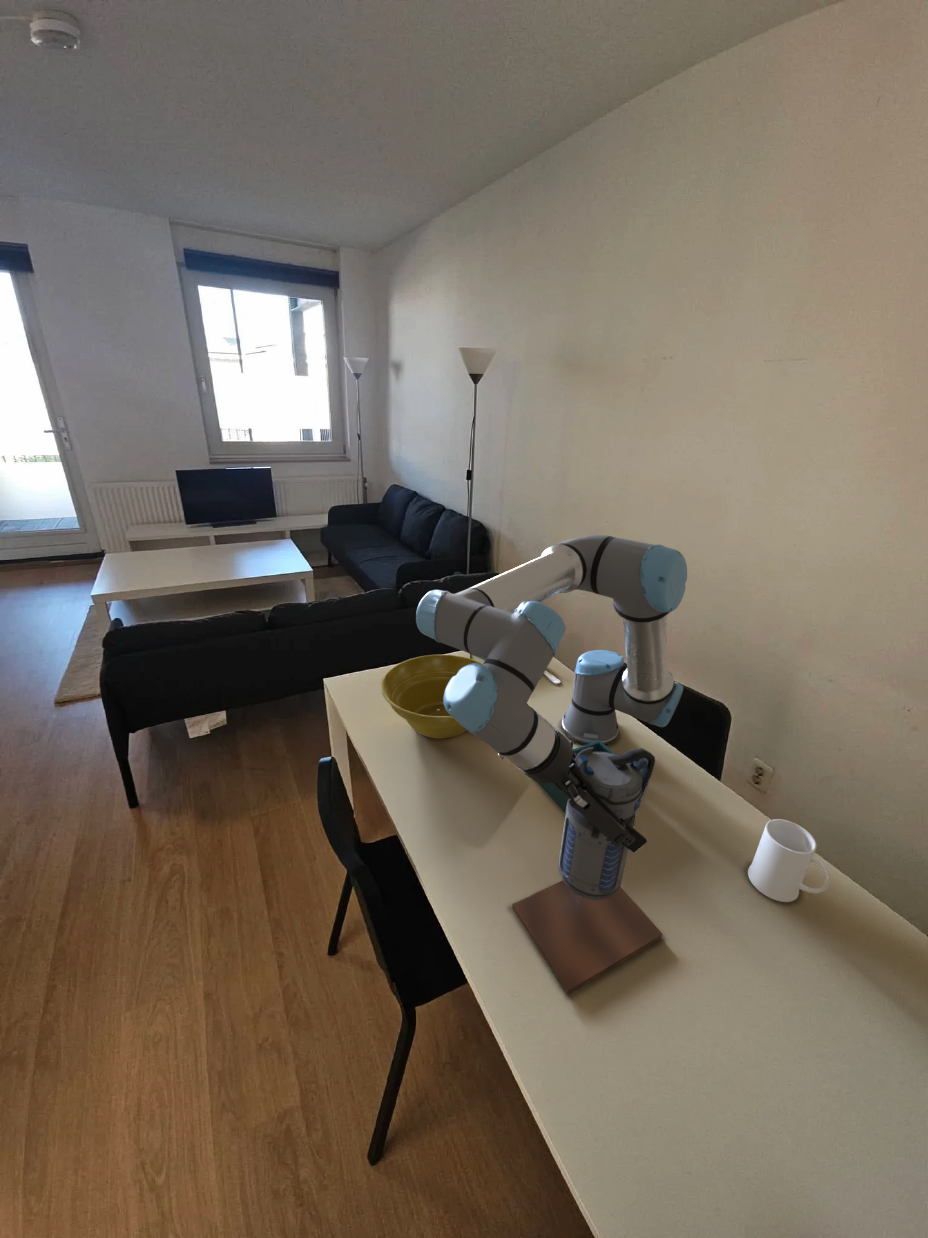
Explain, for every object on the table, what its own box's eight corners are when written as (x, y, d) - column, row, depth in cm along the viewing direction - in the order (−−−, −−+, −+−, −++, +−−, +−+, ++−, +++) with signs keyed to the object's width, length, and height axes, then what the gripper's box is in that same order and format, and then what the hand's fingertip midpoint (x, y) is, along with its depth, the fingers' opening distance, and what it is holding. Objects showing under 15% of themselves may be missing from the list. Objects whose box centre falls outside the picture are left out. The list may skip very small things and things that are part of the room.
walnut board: (598, 867, 99) (599, 862, 98) (662, 939, 86) (663, 934, 85) (511, 908, 90) (512, 904, 90) (567, 995, 77) (568, 990, 77)
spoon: (551, 685, 161) (551, 684, 161) (522, 660, 176) (522, 659, 175) (565, 682, 163) (565, 680, 163) (535, 658, 178) (535, 656, 178)
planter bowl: (458, 779, 120) (459, 732, 115) (357, 733, 136) (354, 690, 130) (518, 715, 145) (521, 674, 140) (427, 682, 161) (427, 644, 155)
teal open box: (596, 759, 128) (600, 730, 125) (639, 797, 116) (645, 767, 113) (535, 781, 120) (538, 751, 117) (575, 824, 108) (579, 792, 105)
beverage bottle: (646, 892, 80) (677, 766, 71) (571, 913, 77) (593, 783, 67) (611, 843, 89) (635, 725, 80) (543, 859, 86) (559, 738, 76)
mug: (826, 904, 93) (848, 856, 88) (800, 925, 89) (821, 877, 84) (764, 857, 102) (781, 811, 97) (738, 874, 98) (754, 828, 93)
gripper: (493, 718, 80) (574, 783, 90) (544, 827, 60) (641, 897, 69) (528, 686, 79) (605, 755, 89) (591, 786, 59) (683, 862, 68)
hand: (621, 817), depth 79 cm, fingers closed on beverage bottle, 10 cm apart
